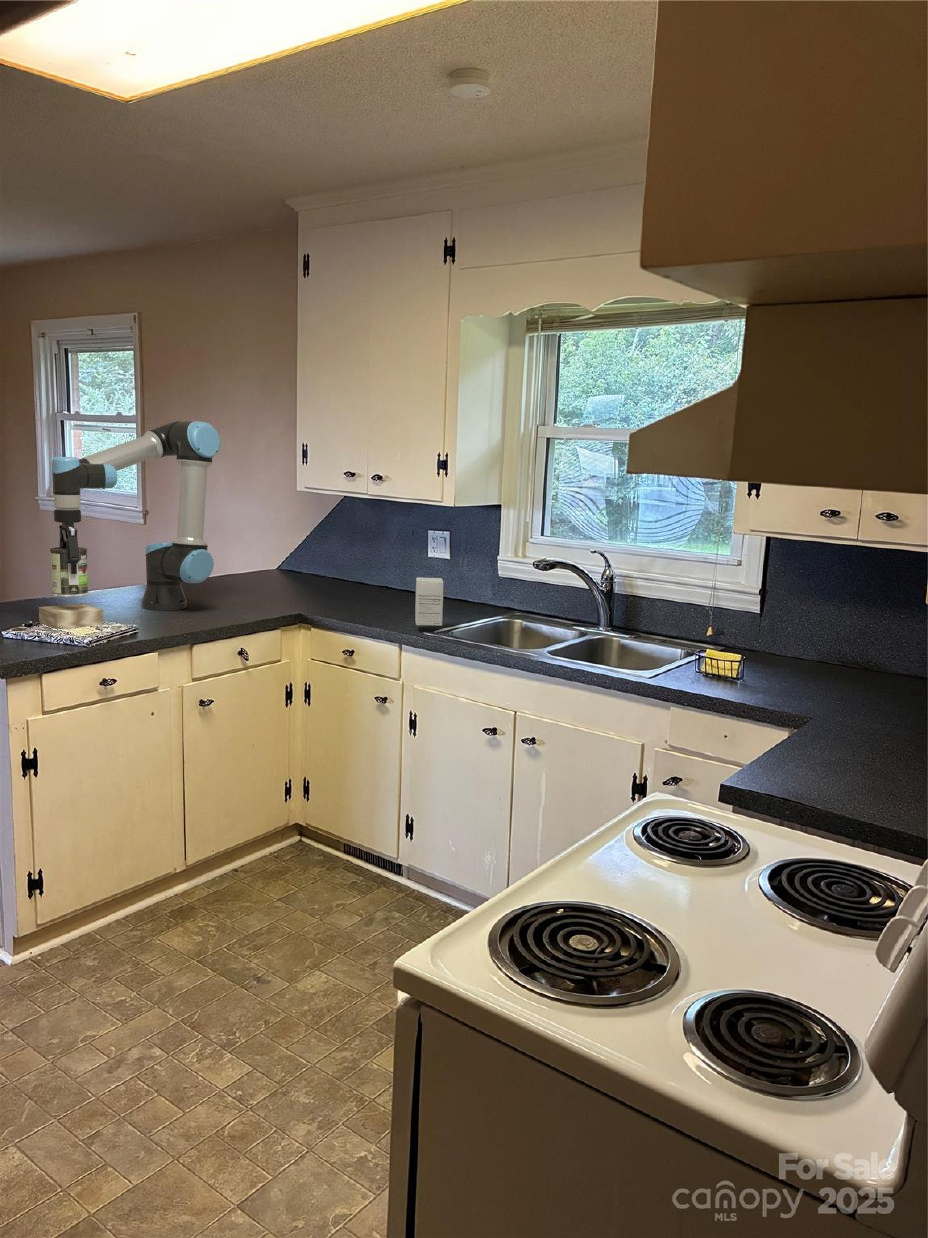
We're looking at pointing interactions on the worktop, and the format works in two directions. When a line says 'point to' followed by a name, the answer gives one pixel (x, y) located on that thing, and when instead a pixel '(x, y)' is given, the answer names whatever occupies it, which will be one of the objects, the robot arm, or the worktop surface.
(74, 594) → the coffee can
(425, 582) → the supplement box
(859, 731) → the worktop surface
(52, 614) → the birch block
